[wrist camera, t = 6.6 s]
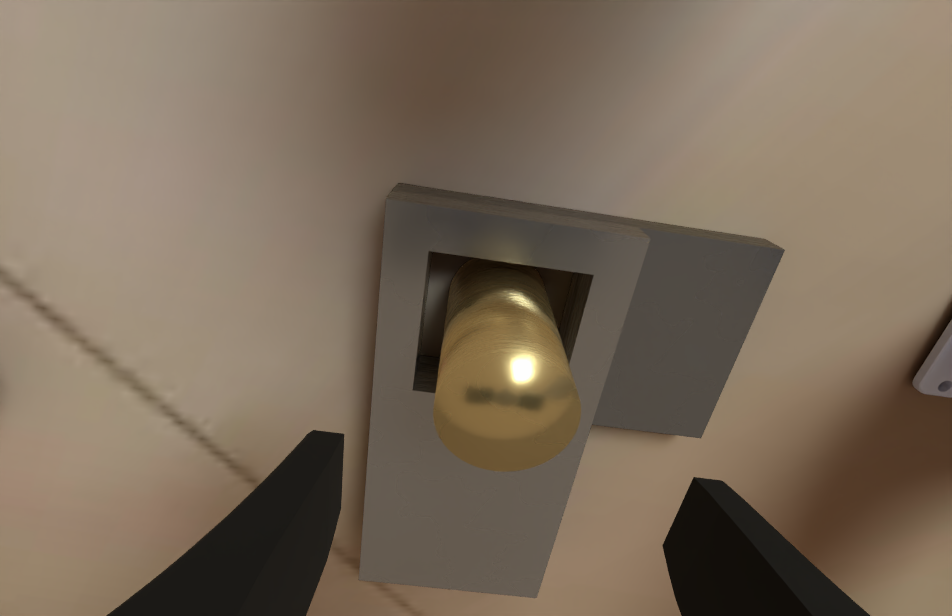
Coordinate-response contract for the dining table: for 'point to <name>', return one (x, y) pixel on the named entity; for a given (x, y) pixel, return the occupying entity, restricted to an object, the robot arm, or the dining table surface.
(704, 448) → the dining table surface
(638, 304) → the lower link
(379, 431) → the upper link
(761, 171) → the dining table surface
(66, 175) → the dining table surface
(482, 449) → the pin
